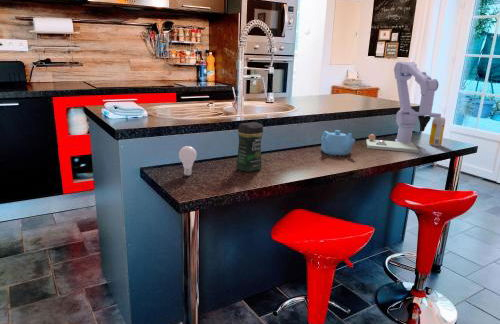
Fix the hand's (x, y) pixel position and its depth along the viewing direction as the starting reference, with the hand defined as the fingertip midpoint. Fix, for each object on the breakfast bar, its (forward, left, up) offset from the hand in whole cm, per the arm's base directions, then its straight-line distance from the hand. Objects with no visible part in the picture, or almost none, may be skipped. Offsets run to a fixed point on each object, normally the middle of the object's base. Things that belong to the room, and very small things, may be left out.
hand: (422, 130), depth 195 cm
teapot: (+25, -41, -10) cm, 49 cm away
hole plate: (+1, -14, -9) cm, 17 cm away
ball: (-5, -24, -6) cm, 25 cm away
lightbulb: (+83, -92, -10) cm, 124 cm away
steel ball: (+3, -19, -8) cm, 21 cm away
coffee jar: (+67, -73, -10) cm, 100 cm away
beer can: (-14, +10, -10) cm, 20 cm away
